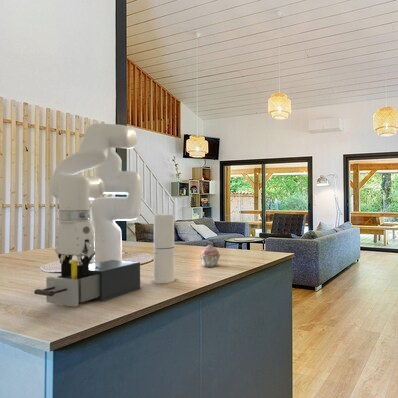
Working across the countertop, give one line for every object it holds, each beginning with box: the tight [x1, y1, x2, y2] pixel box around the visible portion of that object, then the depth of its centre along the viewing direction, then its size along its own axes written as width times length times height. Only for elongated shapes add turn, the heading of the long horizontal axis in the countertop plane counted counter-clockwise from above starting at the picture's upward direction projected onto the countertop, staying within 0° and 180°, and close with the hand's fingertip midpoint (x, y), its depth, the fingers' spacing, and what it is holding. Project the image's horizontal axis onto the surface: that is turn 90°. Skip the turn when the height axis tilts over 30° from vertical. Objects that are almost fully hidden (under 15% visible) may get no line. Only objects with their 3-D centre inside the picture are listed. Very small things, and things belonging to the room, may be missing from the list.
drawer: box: [33, 273, 100, 307], centre depth 96 cm, size 18×11×7 cm, turn 161°
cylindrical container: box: [153, 213, 175, 284], centre depth 121 cm, size 7×7×25 cm
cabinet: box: [89, 260, 141, 302], centre depth 107 cm, size 15×13×9 cm
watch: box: [69, 258, 79, 280], centre depth 96 cm, size 6×3×6 cm, turn 40°
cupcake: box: [199, 243, 221, 268], centre depth 147 cm, size 9×9×10 cm
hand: (75, 276), depth 96 cm, fingers closed on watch, 5 cm apart
